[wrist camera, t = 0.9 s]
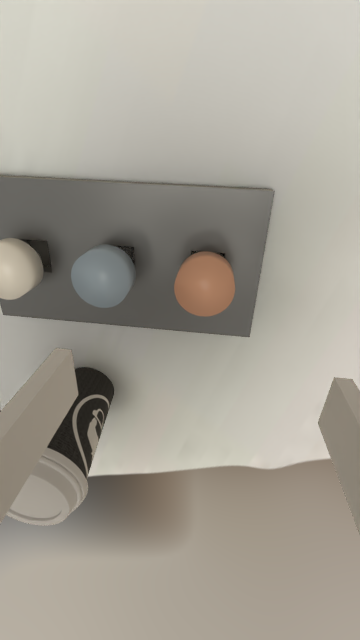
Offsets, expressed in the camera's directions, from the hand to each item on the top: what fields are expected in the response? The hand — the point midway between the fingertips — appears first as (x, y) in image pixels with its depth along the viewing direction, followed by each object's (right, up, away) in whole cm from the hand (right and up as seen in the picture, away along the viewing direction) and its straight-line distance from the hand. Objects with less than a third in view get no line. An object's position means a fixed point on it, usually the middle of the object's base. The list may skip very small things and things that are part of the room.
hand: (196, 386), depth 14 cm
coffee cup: (-13, -6, +26) cm, 29 cm away
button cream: (-15, +9, +15) cm, 23 cm away
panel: (-6, +10, +17) cm, 20 cm away
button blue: (-7, +8, +14) cm, 18 cm away
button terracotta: (+2, +8, +14) cm, 16 cm away
